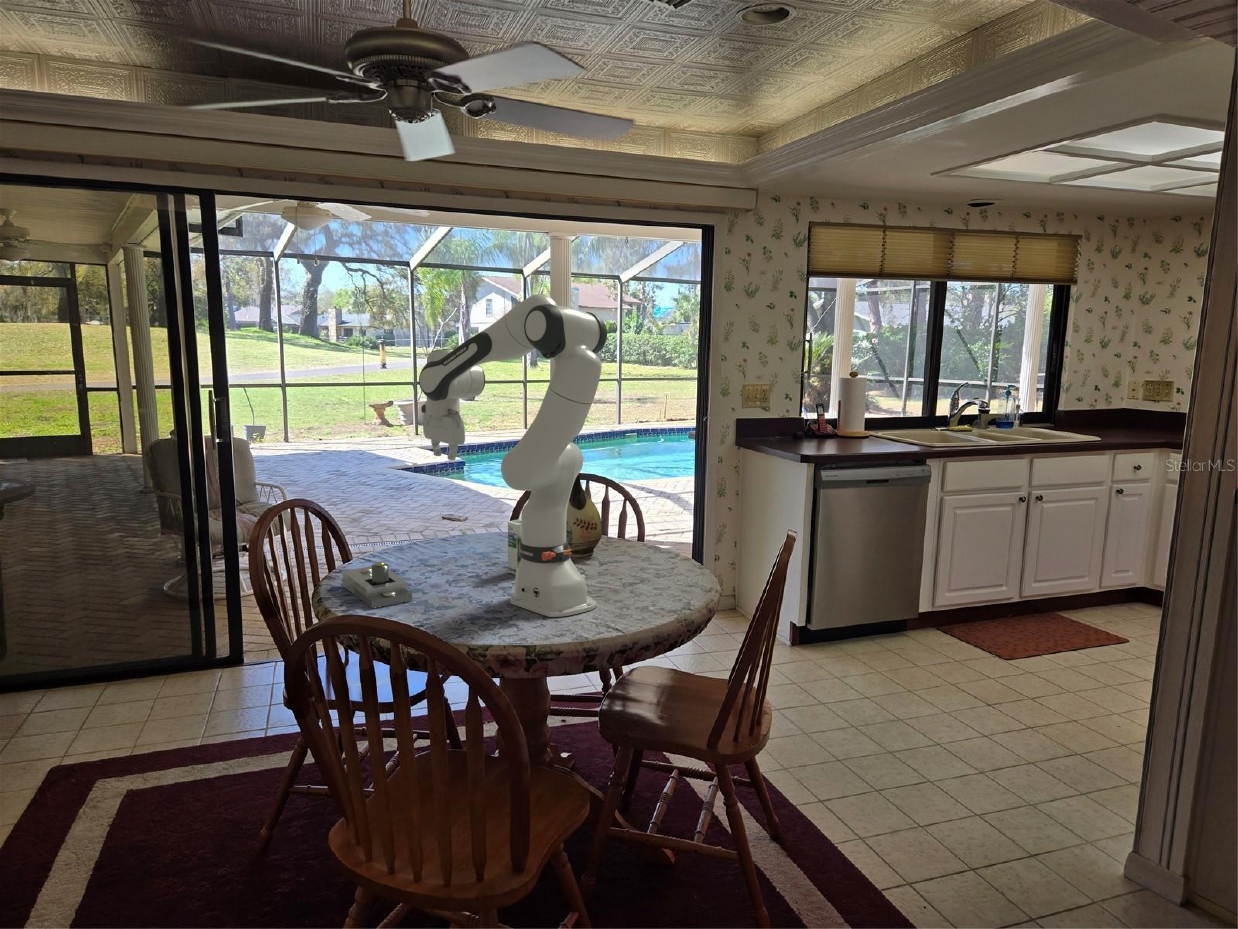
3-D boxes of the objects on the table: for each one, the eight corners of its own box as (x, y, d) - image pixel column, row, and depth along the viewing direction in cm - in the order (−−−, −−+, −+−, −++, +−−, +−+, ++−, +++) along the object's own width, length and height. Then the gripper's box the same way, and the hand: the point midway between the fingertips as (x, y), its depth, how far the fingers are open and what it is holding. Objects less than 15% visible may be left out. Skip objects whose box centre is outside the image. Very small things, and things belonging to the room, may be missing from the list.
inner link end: (412, 601, 189) (411, 590, 189) (371, 609, 183) (371, 598, 183) (393, 587, 200) (392, 578, 199) (354, 594, 194) (353, 584, 193)
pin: (391, 597, 192) (390, 563, 191) (375, 600, 190) (374, 566, 189) (385, 593, 195) (384, 560, 194) (370, 595, 193) (369, 562, 192)
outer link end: (407, 597, 192) (407, 580, 191) (367, 605, 186) (366, 587, 185) (380, 579, 207) (380, 562, 206) (342, 585, 201) (342, 568, 200)
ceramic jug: (551, 548, 241) (550, 452, 236) (600, 547, 242) (600, 452, 238) (551, 563, 224) (551, 460, 220) (604, 561, 226) (605, 460, 221)
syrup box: (506, 572, 214) (506, 521, 212) (523, 568, 218) (523, 518, 216) (519, 577, 210) (518, 524, 208) (536, 572, 214) (536, 521, 212)
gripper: (470, 410, 207) (471, 461, 209) (439, 405, 223) (440, 452, 225) (448, 411, 203) (449, 463, 205) (418, 406, 220) (419, 454, 222)
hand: (444, 457), depth 215 cm, fingers open, 8 cm apart
